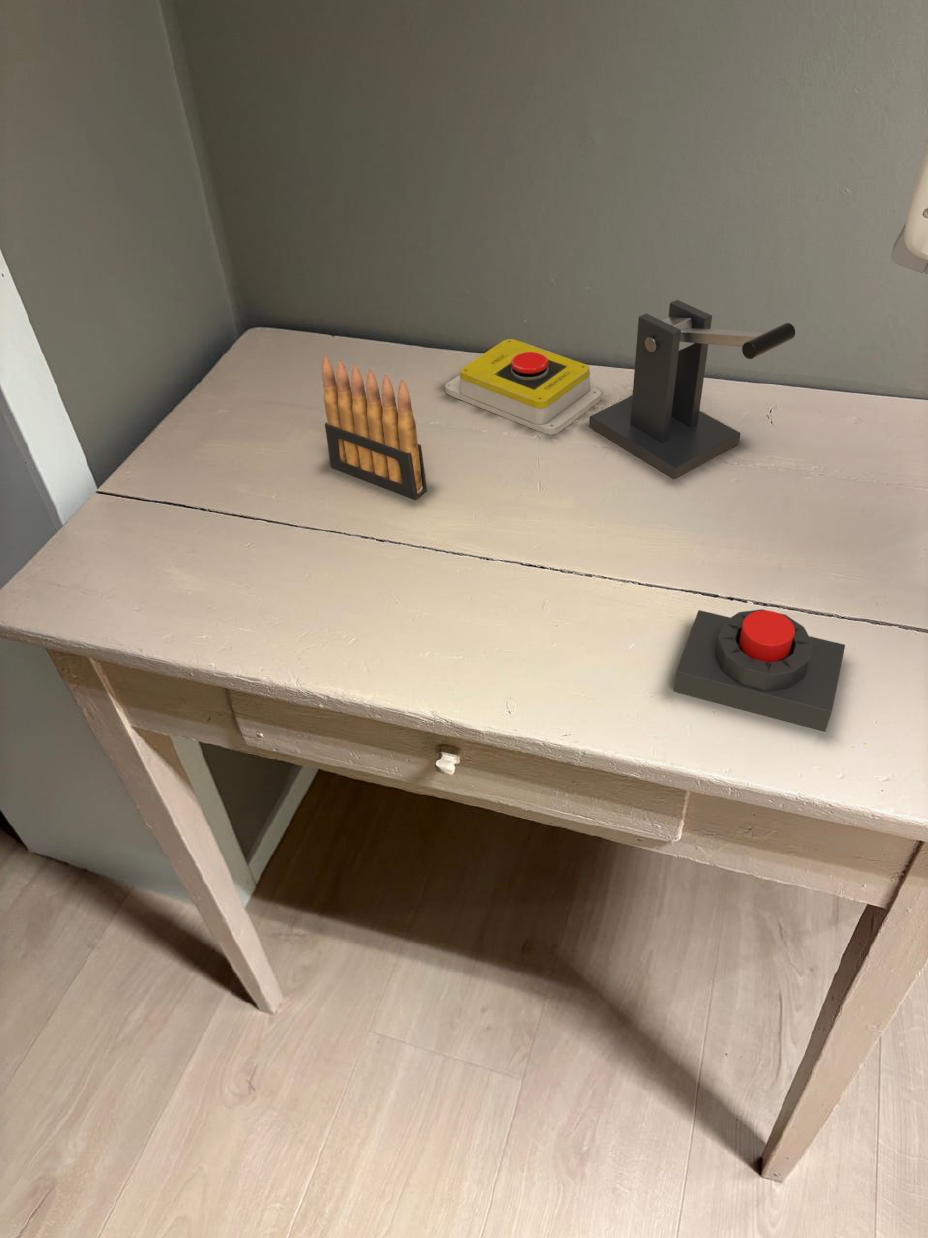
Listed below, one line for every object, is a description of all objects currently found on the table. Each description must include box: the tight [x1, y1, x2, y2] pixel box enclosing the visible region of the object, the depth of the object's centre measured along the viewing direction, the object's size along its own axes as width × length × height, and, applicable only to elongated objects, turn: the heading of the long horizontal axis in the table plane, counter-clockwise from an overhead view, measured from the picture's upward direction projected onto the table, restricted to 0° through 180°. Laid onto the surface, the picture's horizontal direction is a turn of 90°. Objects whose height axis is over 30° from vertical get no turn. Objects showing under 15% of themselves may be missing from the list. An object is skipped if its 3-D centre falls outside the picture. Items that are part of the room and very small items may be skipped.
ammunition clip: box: [321, 355, 428, 501], centre depth 89 cm, size 11×2×12 cm, turn 55°
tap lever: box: [661, 316, 796, 360], centre depth 84 cm, size 13×5×2 cm, turn 37°
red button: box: [739, 609, 795, 662], centre depth 69 cm, size 4×4×2 cm
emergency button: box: [444, 338, 602, 436], centre depth 102 cm, size 9×4×15 cm
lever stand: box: [588, 299, 741, 480], centre depth 92 cm, size 12×9×13 cm
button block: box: [673, 608, 846, 732], centre depth 71 cm, size 11×7×4 cm, turn 67°
